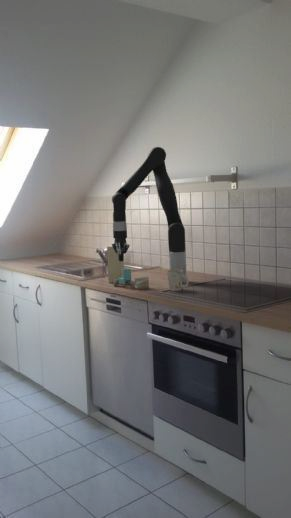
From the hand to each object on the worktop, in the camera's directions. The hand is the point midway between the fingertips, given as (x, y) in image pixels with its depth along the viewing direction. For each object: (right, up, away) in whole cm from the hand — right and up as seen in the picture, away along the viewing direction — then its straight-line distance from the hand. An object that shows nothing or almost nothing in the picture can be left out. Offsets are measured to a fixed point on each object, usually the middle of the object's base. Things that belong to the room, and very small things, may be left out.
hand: (121, 261), depth 281 cm
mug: (+31, -15, -19) cm, 39 cm away
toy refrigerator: (-3, -12, +15) cm, 20 cm away
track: (+5, -14, -4) cm, 16 cm away
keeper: (+2, -12, 0) cm, 12 cm away
